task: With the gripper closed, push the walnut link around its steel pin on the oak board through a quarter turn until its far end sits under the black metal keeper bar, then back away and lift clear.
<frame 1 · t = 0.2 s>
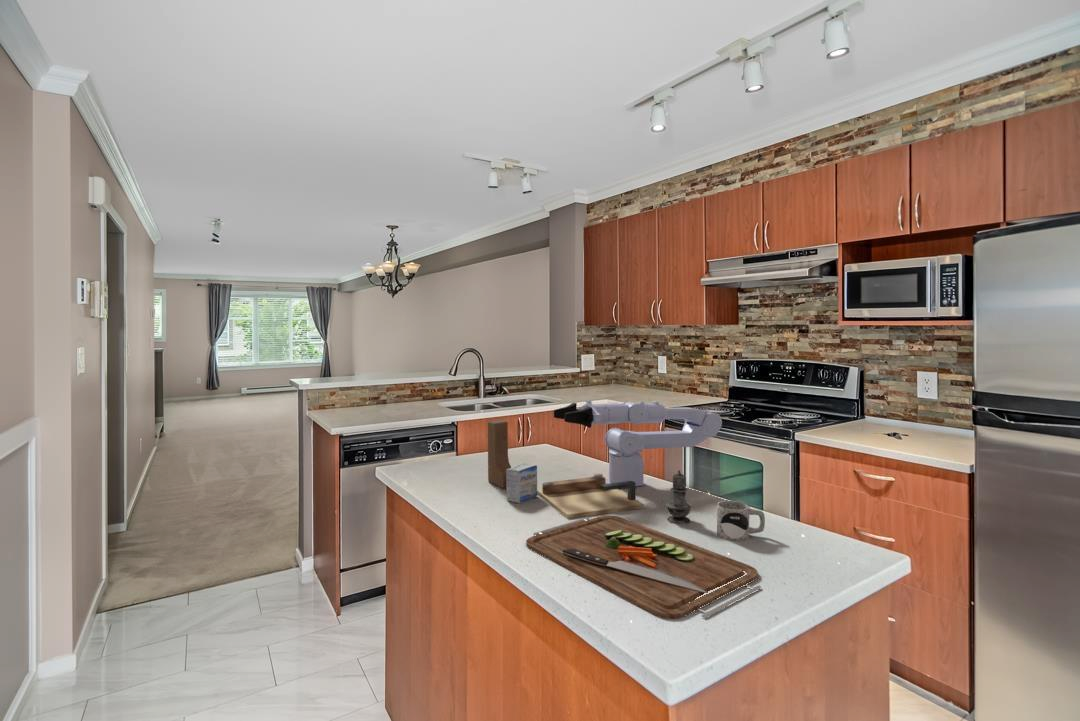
hand: (559, 415, 154), 21 cm above the counter, tool horizontal, fingers open, 7 cm apart
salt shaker: (678, 520, 132), on the counter
oak board: (588, 500, 147), on the counter
chopping board: (634, 562, 111), on the counter
link: (574, 483, 153), point 3 cm above the counter, hinge at 0.0°
medicine box: (522, 499, 149), on the counter
keeper: (621, 504, 144), resting on oak board
mug: (740, 536, 122), on the counter
wooden block: (502, 484, 163), on the counter
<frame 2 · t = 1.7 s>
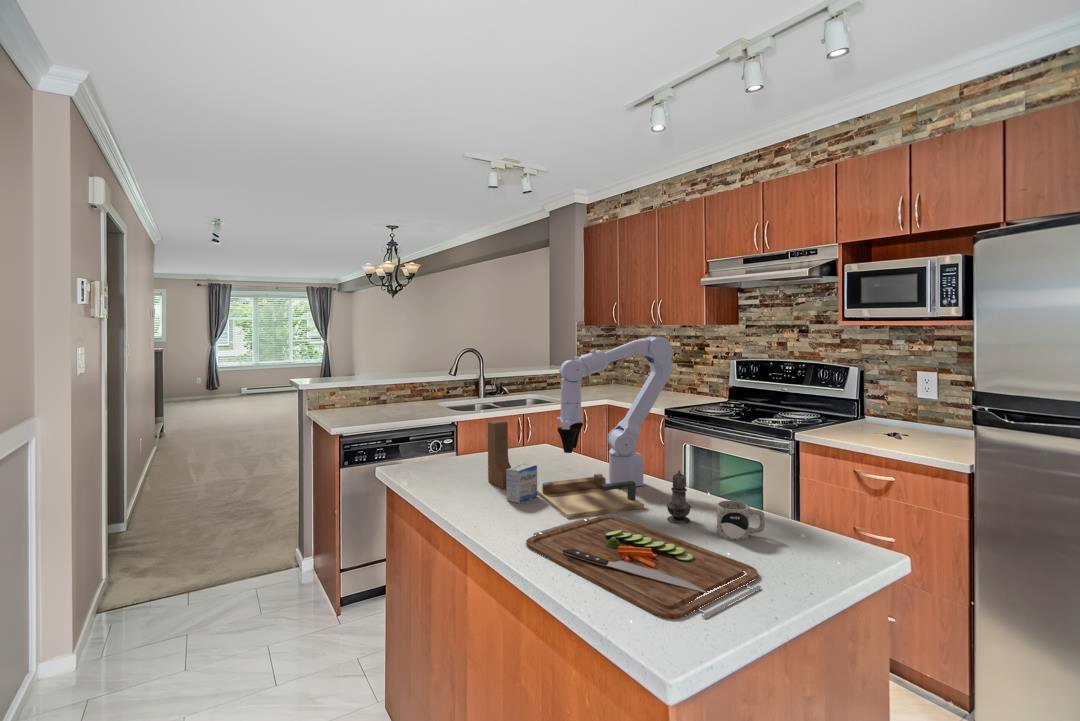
hand: (570, 450, 159), 10 cm above the counter, tool pointing down, fingers open, 6 cm apart
nothing on the counter moved.
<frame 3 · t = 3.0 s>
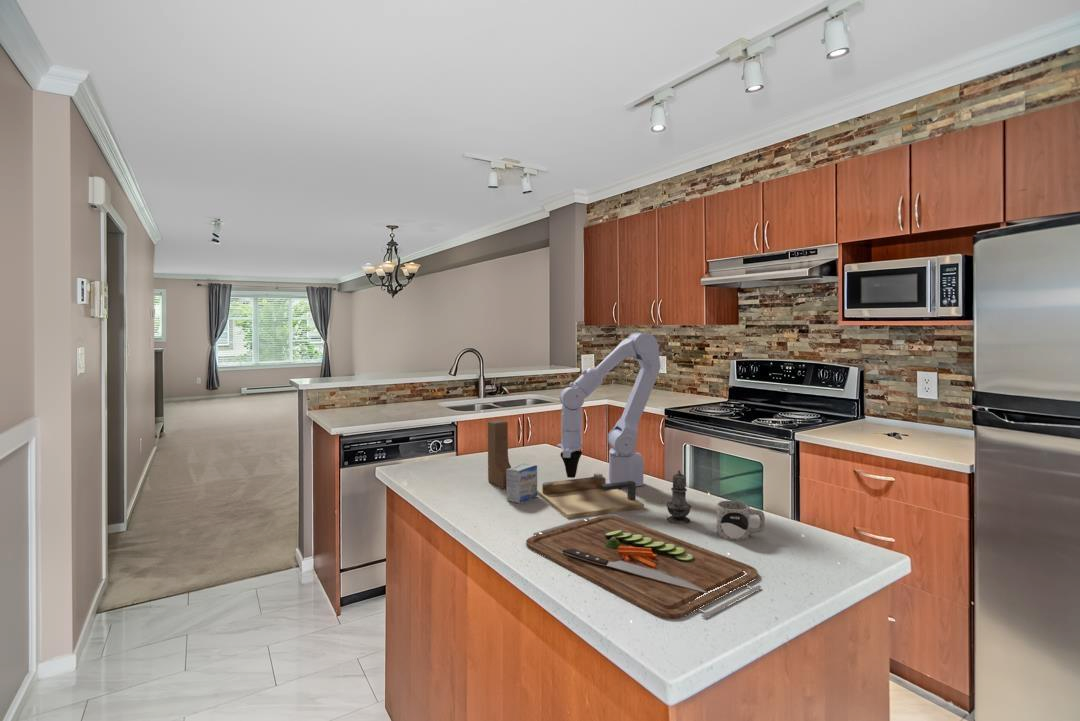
hand: (571, 477, 160), 3 cm above the counter, tool pointing down, fingers closed
nothing on the counter moved.
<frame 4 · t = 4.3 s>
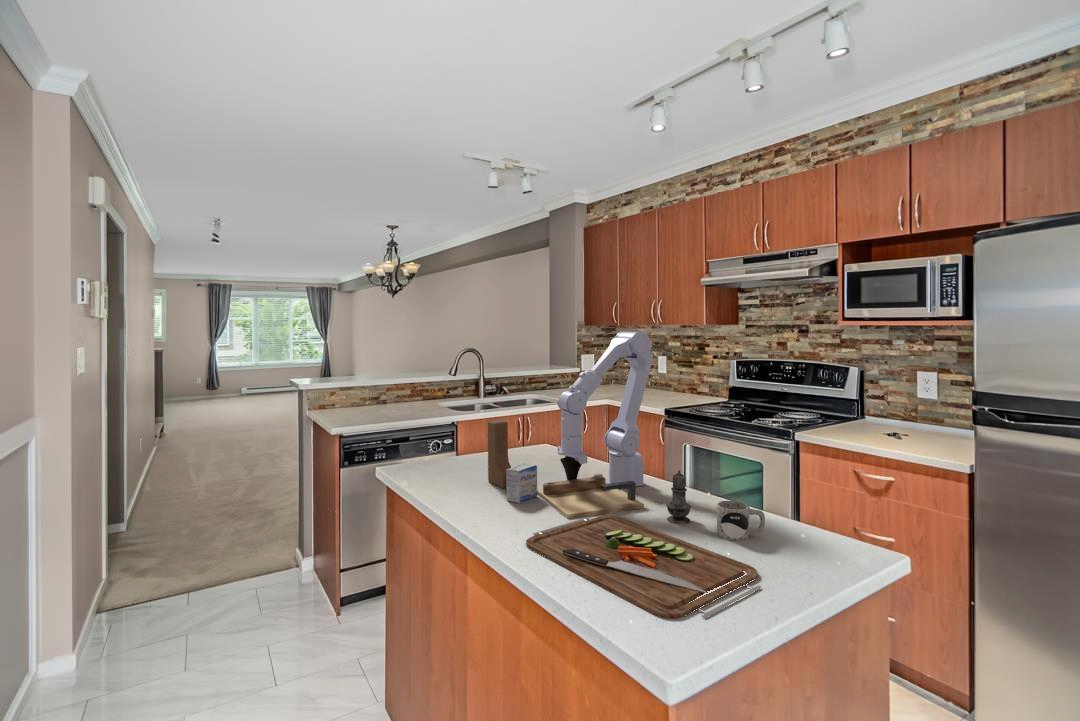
hand: (572, 483, 155), 2 cm above the counter, tool pointing down, fingers closed
link: (574, 483, 153), point 3 cm above the counter, hinge at 2.0°, touching gripper
everything else where it was.
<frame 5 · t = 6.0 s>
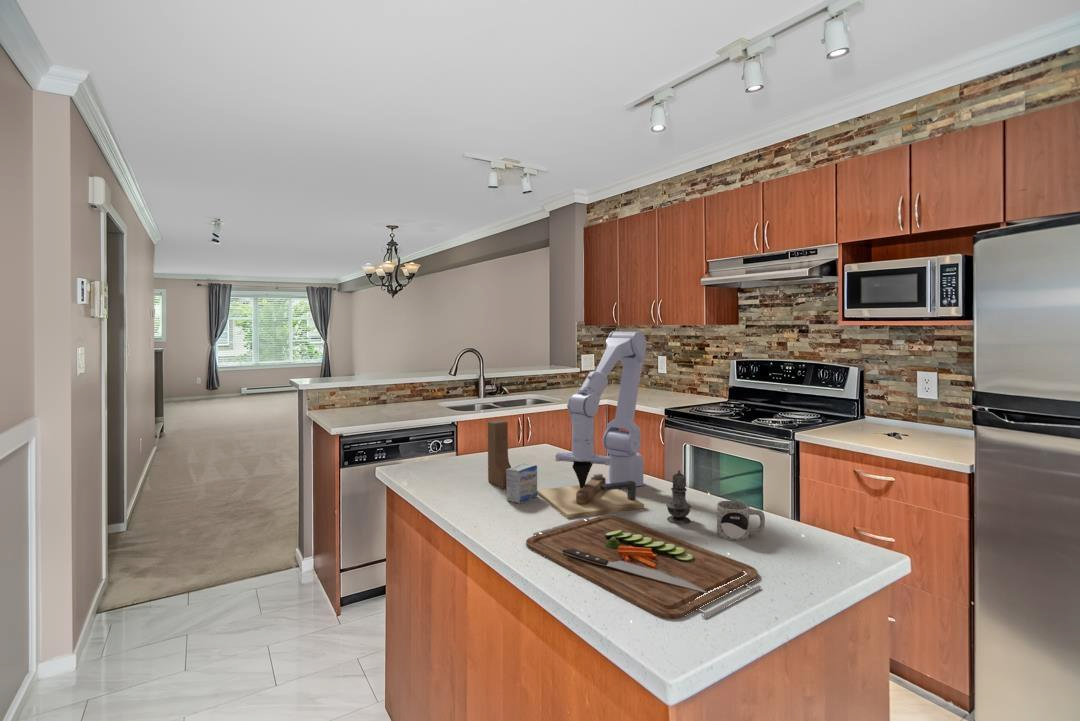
hand: (582, 489, 149), 2 cm above the counter, tool pointing down, fingers closed, pressing on link
link: (590, 487, 149), point 3 cm above the counter, hinge at 47.7°, touching gripper
everything else where it was.
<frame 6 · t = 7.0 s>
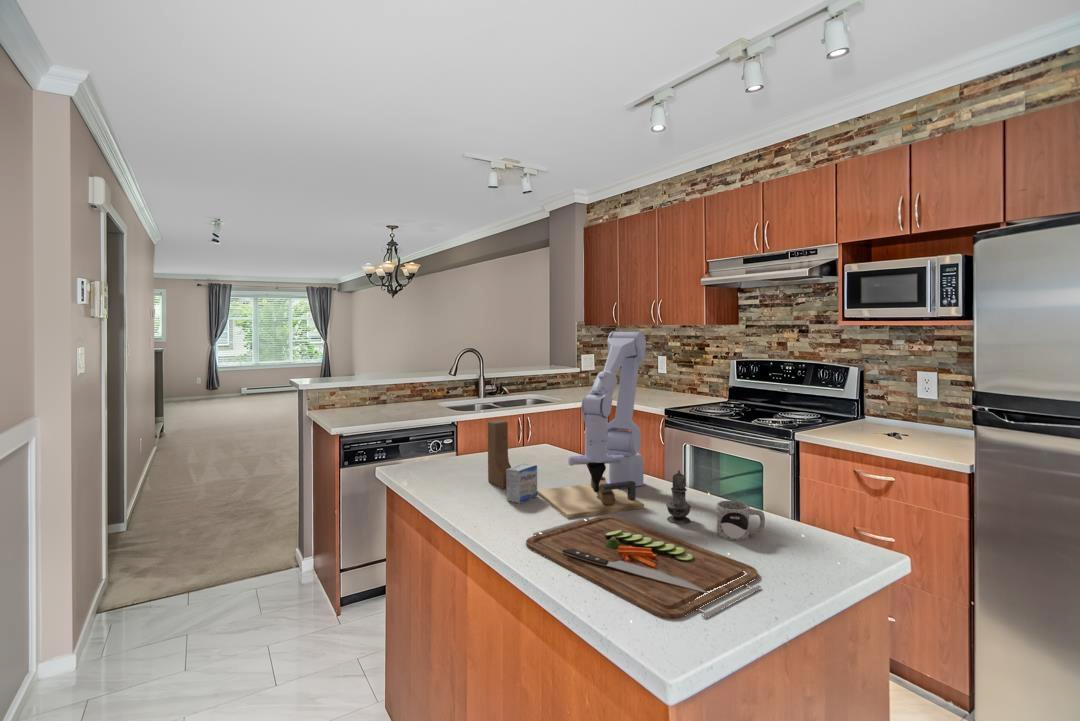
hand: (595, 491, 148), 2 cm above the counter, tool pointing down, fingers closed, pressing on link
link: (602, 488, 148), point 3 cm above the counter, hinge at 73.1°, touching gripper
everything else where it was.
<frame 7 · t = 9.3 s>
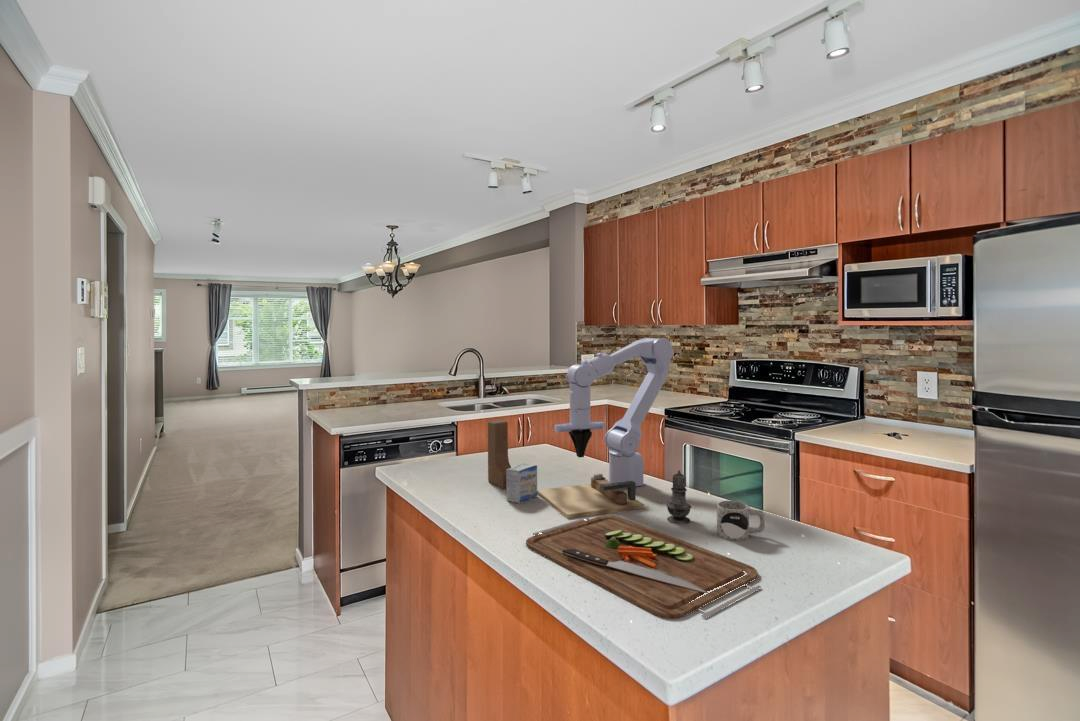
hand: (580, 456, 156), 9 cm above the counter, tool pointing down, fingers closed
link: (608, 487, 149), point 3 cm above the counter, hinge at 85.7°
everything else where it was.
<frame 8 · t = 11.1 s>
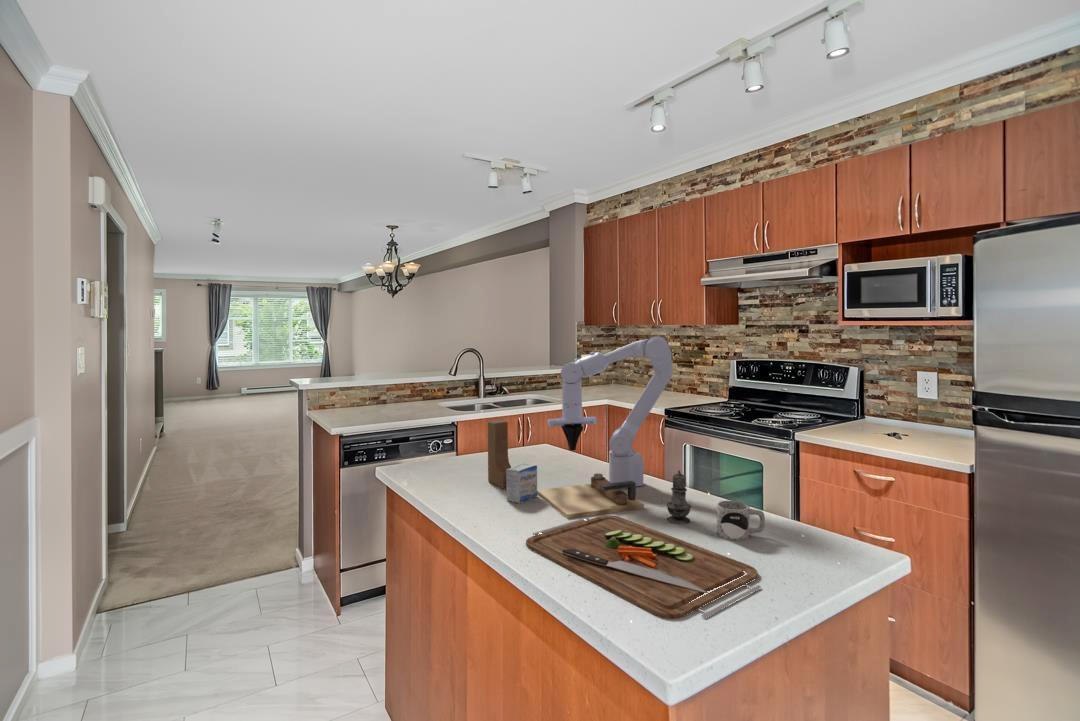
hand: (572, 449, 164), 9 cm above the counter, tool pointing down, fingers closed
nothing on the counter moved.
at the end: link at +86° (first picture: +0°); medicine box moved 0.3 cm from its start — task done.
